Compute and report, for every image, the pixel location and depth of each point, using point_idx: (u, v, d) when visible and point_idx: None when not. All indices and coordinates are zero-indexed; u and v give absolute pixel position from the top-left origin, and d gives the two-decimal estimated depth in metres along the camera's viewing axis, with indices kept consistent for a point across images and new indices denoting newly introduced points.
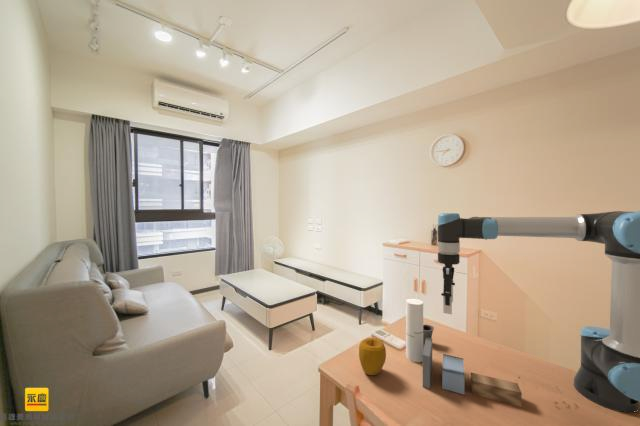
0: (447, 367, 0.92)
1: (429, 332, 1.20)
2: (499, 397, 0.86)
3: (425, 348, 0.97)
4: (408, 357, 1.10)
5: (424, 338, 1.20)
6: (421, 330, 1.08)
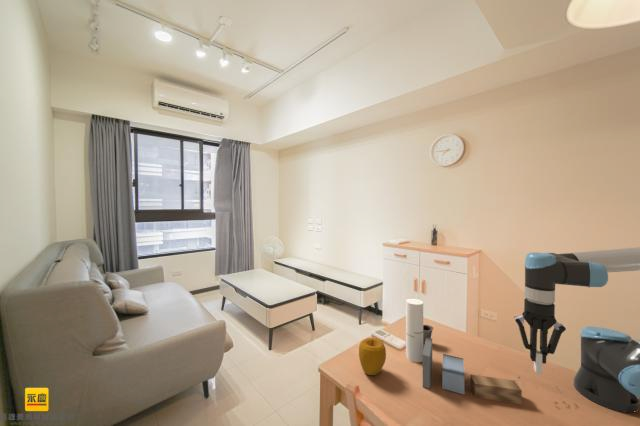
0: (447, 367, 0.92)
1: (428, 332, 1.19)
2: (501, 397, 0.86)
3: (425, 348, 0.97)
4: (408, 357, 1.10)
5: (423, 339, 1.20)
6: (421, 330, 1.08)
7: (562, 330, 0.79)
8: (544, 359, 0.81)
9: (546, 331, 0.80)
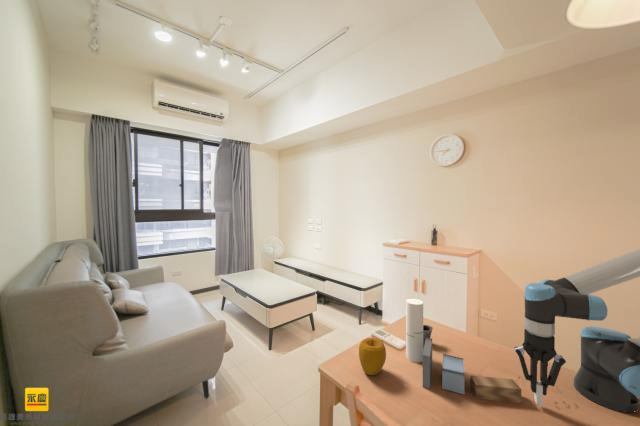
0: (447, 367, 0.92)
1: (428, 332, 1.19)
2: (501, 397, 0.86)
3: (425, 348, 0.97)
4: (408, 357, 1.10)
5: (423, 339, 1.20)
6: (421, 330, 1.08)
7: (562, 363, 0.79)
8: (544, 391, 0.82)
9: (546, 363, 0.80)
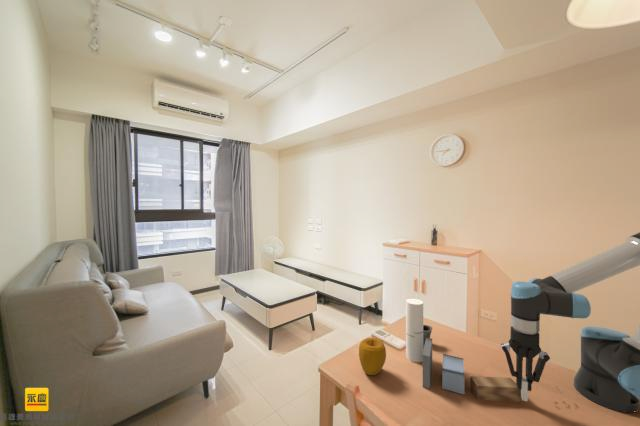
0: (447, 367, 0.92)
1: (427, 332, 1.19)
2: (502, 397, 0.86)
3: (425, 348, 0.97)
4: (408, 357, 1.10)
5: None
6: (421, 330, 1.08)
7: (546, 359, 0.81)
8: (529, 387, 0.83)
9: (531, 360, 0.82)
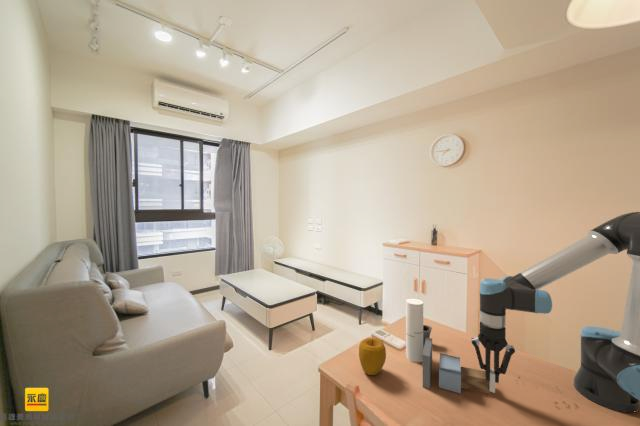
0: (444, 366, 0.92)
1: (427, 332, 1.19)
2: (470, 385, 0.91)
3: (425, 348, 0.97)
4: (408, 357, 1.10)
5: None
6: (421, 330, 1.08)
7: (512, 352, 0.85)
8: (497, 379, 0.87)
9: (498, 353, 0.86)
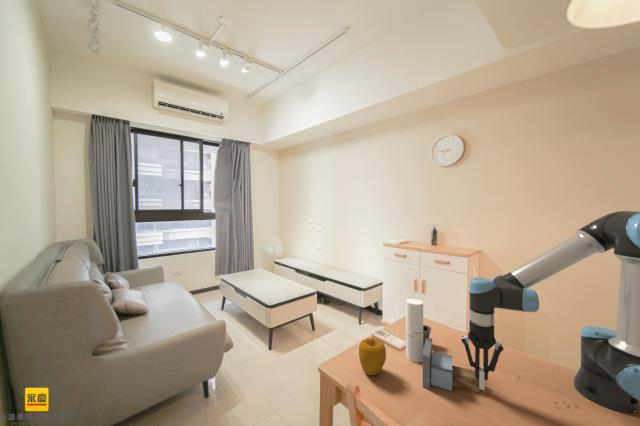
0: (436, 364, 0.94)
1: (426, 333, 1.19)
2: (460, 384, 0.93)
3: (425, 348, 0.97)
4: (408, 357, 1.10)
5: None
6: (421, 330, 1.08)
7: (500, 350, 0.86)
8: (486, 376, 0.89)
9: (487, 351, 0.88)
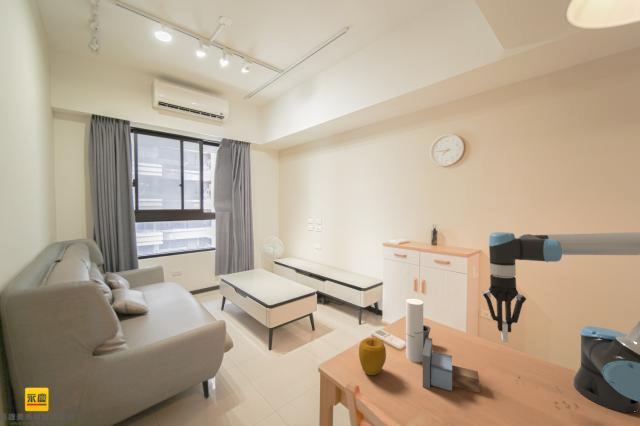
0: (436, 364, 0.94)
1: (426, 333, 1.19)
2: (460, 384, 0.92)
3: (425, 348, 0.97)
4: (408, 357, 1.10)
5: None
6: (421, 330, 1.08)
7: (523, 300, 0.88)
8: (509, 328, 0.90)
9: (509, 302, 0.89)
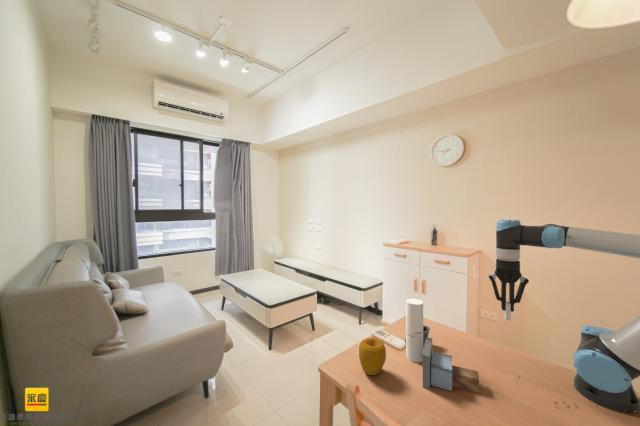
0: (436, 364, 0.94)
1: (425, 333, 1.19)
2: (460, 384, 0.92)
3: (425, 348, 0.97)
4: (408, 357, 1.10)
5: None
6: (421, 330, 1.08)
7: (526, 282, 0.95)
8: (512, 308, 0.97)
9: (513, 284, 0.96)
